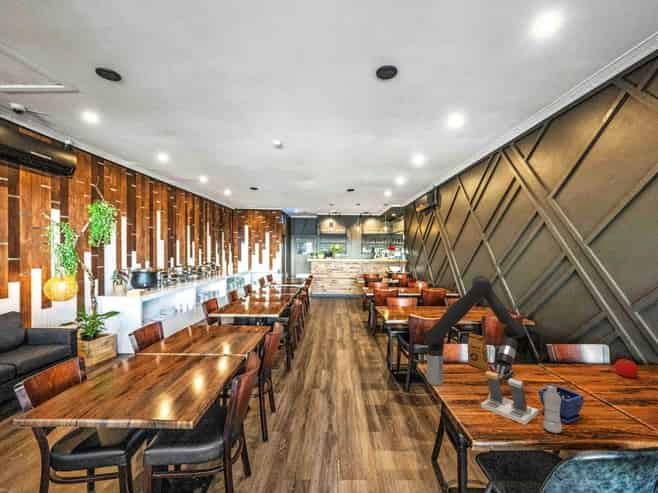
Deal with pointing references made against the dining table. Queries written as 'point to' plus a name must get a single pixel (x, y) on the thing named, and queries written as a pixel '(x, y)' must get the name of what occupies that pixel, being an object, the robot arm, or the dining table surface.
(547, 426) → the plastic bottle
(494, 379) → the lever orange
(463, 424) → the dining table surface
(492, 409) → the switch unit
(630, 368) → the tomato
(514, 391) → the lever grey
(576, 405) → the flower pot
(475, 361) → the coffee package
